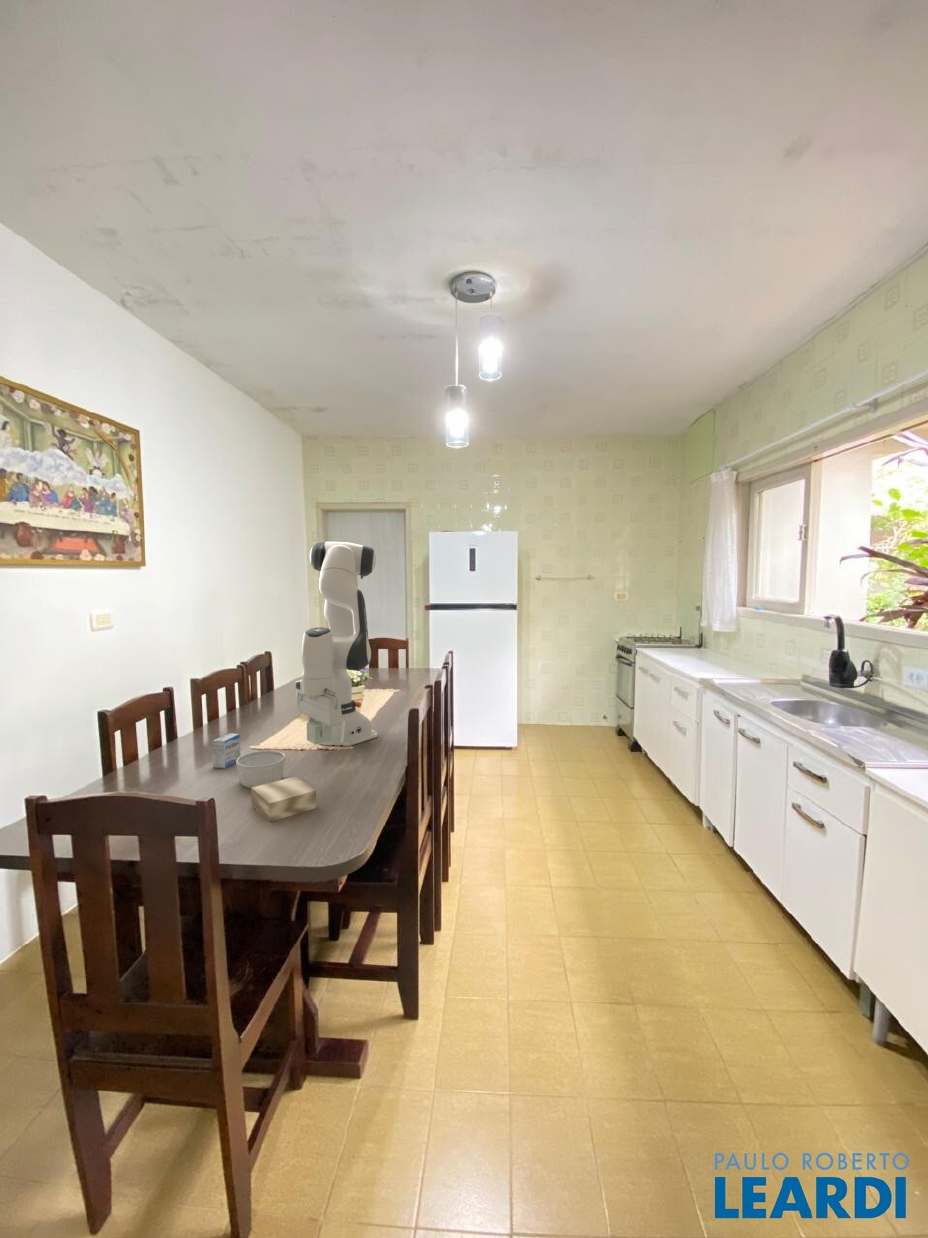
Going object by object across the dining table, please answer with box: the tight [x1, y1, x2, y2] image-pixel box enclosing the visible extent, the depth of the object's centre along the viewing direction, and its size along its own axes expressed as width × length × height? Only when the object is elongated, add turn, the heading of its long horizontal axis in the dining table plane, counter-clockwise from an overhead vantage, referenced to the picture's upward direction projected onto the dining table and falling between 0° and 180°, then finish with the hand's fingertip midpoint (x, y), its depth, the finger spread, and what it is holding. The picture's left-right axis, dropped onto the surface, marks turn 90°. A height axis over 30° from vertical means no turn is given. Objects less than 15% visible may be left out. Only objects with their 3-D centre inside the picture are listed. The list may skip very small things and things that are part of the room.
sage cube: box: [306, 720, 332, 745], centre depth 146 cm, size 5×5×5 cm
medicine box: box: [211, 732, 241, 769], centre depth 162 cm, size 8×4×9 cm, turn 168°
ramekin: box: [235, 749, 286, 789], centre depth 149 cm, size 13×13×7 cm
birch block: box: [250, 776, 317, 823], centre depth 133 cm, size 12×12×5 cm
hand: (319, 734), depth 146 cm, fingers closed on sage cube, 5 cm apart
